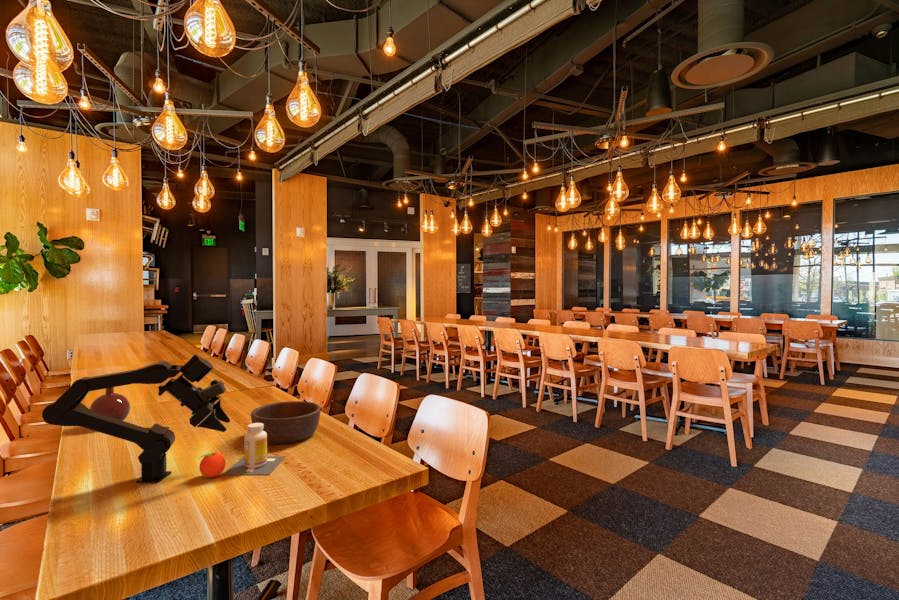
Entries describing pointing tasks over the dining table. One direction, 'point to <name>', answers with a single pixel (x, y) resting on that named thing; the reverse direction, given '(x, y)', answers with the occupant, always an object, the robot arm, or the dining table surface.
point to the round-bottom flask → (111, 405)
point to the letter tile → (263, 470)
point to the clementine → (212, 464)
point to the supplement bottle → (255, 446)
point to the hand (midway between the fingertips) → (227, 426)
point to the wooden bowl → (287, 420)
